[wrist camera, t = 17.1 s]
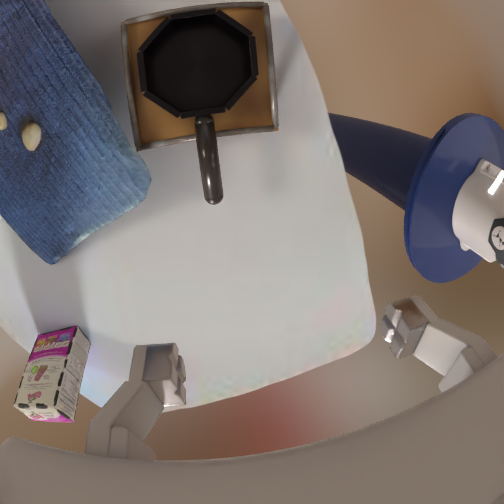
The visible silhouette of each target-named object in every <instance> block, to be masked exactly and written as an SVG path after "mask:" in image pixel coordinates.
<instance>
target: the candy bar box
mask: <svg viewBox="0 0 504 504" xmlns="http://www.w3.org/2000/svg"><path fill="white" fill-rule="evenodd" d="M90 345H91V343H90V341H89V340H88V339H87V338H86V336H85V335H84V334H83V333H82V331H81V330H80V329H79V328H78V326H73V327H69V328H65V329H61V330H57V331H53V332H49V333H44V334H40V335H38V337H37V339H36V342H35V344H34V347H33V349H32V352H31V355H30V357H29V360H28V362H27V365H26V369H25V371H24V374H23V377H22V380H21V383H20V386H19V389H18V392H17V396H16V399H15V403H14V407H16V408H17V409H18V410H19V411H21V412H22V413H23V414H24V415H26V416H27V417H28V418H30V419H31V420H37V421H51V422H74V419H75V413H76V407H77V402H78V397H79V391H80V387H81V382H82V377H83V373H84V368H85V364H86V360H87V356H88V352H89V349H90Z"/></svg>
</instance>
